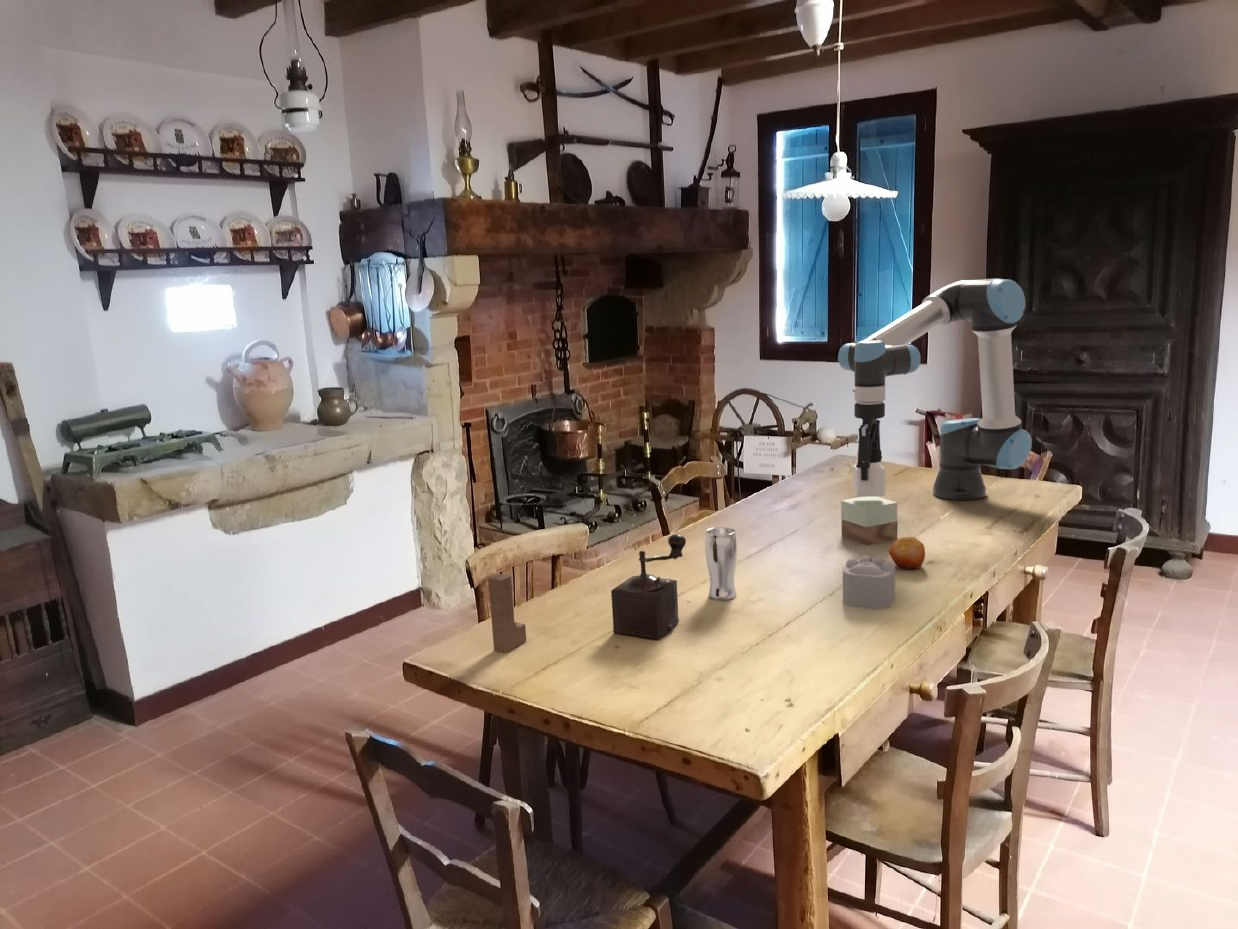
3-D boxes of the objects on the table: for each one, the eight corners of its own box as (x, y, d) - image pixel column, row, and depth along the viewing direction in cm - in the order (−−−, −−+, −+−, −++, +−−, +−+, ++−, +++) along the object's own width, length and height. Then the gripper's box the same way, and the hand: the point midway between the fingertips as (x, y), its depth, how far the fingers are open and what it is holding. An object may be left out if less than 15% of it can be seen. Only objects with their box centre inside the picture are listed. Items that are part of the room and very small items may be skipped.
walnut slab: (870, 530, 248) (870, 512, 247) (897, 539, 239) (897, 520, 238) (841, 537, 243) (841, 519, 242) (868, 546, 235) (868, 527, 234)
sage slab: (871, 513, 247) (871, 494, 246) (896, 521, 238) (897, 502, 237) (841, 518, 243) (841, 500, 242) (866, 527, 234) (866, 508, 233)
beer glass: (718, 603, 200) (716, 537, 196) (700, 594, 206) (698, 530, 203) (744, 597, 203) (742, 531, 200) (726, 588, 209) (724, 524, 206)
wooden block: (506, 653, 179) (500, 580, 176) (493, 650, 181) (487, 578, 178) (526, 641, 185) (521, 570, 181) (514, 638, 186) (508, 568, 183)
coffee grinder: (661, 641, 181) (657, 554, 177) (612, 634, 186) (607, 549, 182) (692, 614, 194) (689, 532, 190) (646, 608, 199) (642, 528, 196)
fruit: (928, 554, 220) (926, 532, 215) (924, 580, 215) (922, 557, 210) (893, 552, 223) (890, 529, 218) (888, 577, 218) (886, 554, 213)
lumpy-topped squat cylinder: (838, 605, 195) (838, 566, 193) (851, 585, 206) (851, 548, 205) (888, 611, 190) (889, 571, 189) (899, 590, 202) (900, 553, 200)
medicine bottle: (880, 489, 242) (881, 445, 239) (885, 496, 235) (886, 450, 233) (853, 490, 243) (853, 446, 240) (857, 497, 236) (857, 451, 233)
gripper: (864, 395, 245) (863, 478, 250) (844, 408, 226) (844, 496, 231) (893, 396, 241) (892, 479, 246) (875, 408, 223) (875, 498, 228)
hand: (869, 488), depth 239 cm, fingers closed on medicine bottle, 9 cm apart
